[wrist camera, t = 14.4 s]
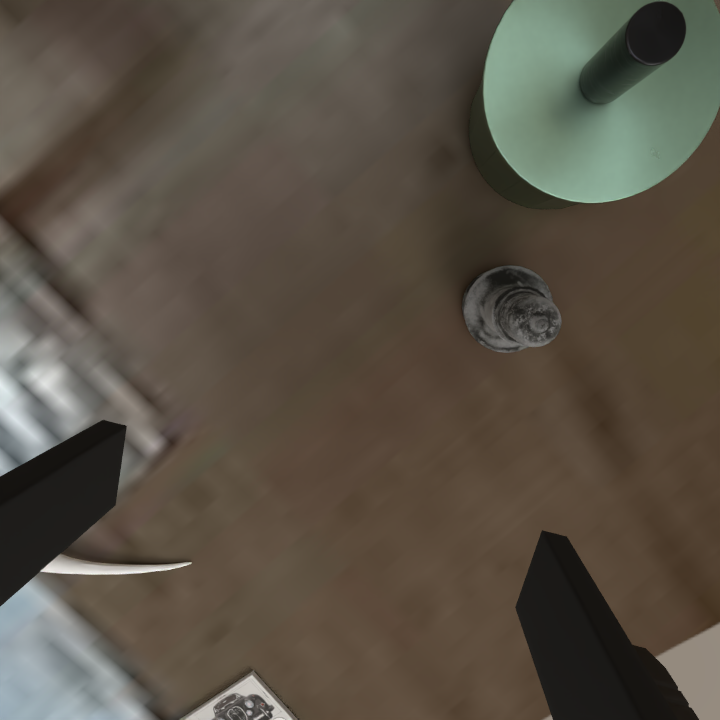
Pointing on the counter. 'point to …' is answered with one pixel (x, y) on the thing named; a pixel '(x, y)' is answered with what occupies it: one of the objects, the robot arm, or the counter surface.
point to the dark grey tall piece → (510, 310)
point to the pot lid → (601, 92)
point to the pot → (502, 166)
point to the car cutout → (243, 703)
